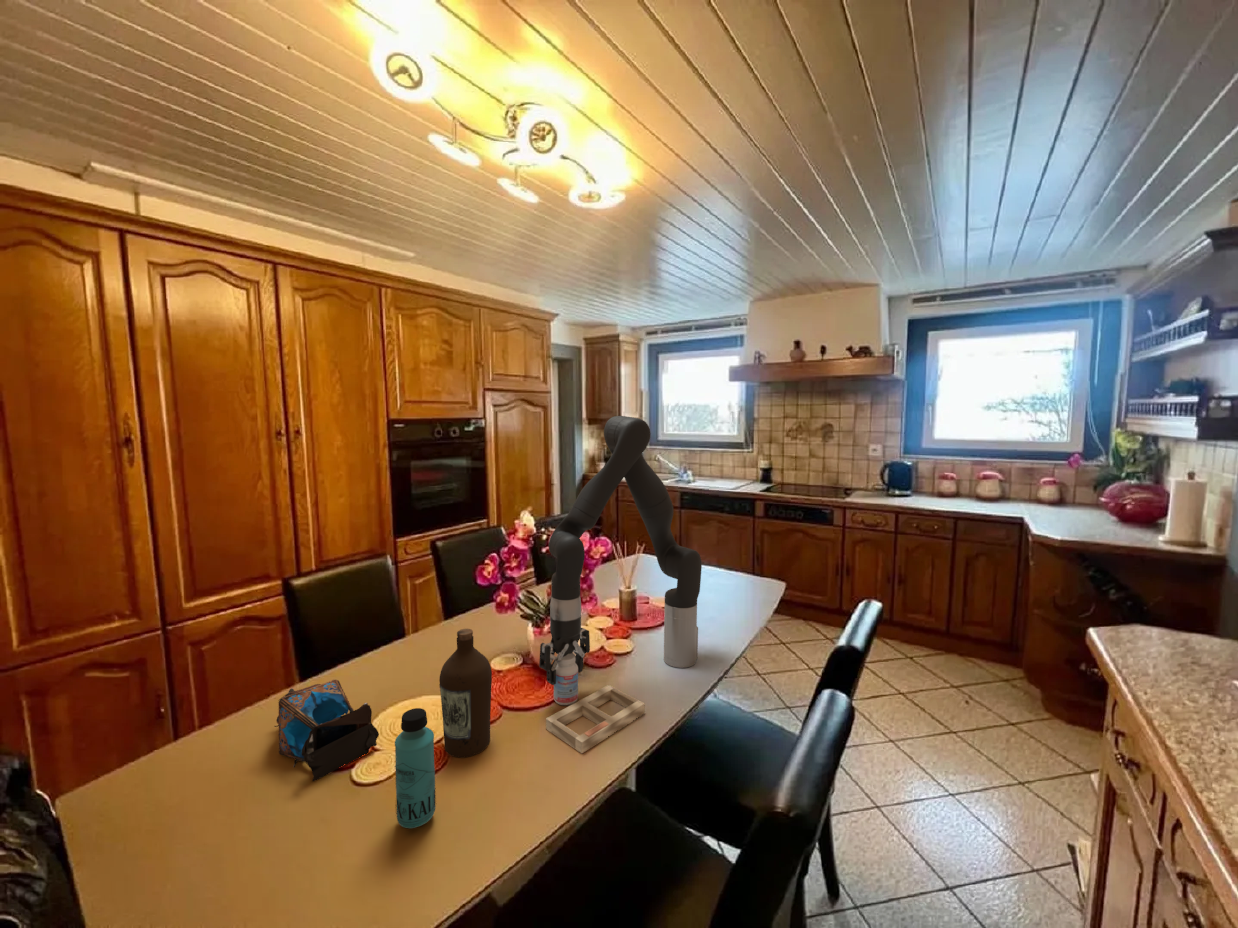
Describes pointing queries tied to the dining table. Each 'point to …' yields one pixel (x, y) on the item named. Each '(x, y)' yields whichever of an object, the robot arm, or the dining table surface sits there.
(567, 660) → the pill bottle
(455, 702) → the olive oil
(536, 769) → the dining table surface
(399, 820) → the beverage bottle
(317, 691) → the lantern
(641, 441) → the robot arm
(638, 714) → the plate
